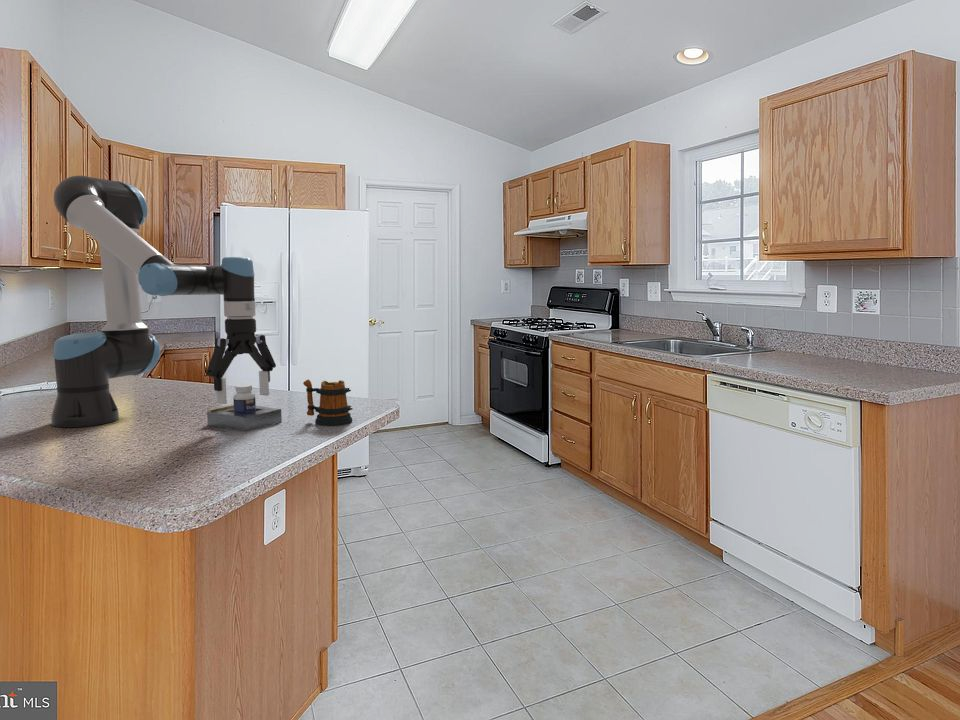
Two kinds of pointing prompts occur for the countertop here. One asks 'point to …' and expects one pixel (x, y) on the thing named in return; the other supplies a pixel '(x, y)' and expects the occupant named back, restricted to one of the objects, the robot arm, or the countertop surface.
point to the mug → (329, 403)
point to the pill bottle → (244, 399)
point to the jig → (243, 418)
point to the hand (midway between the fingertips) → (244, 399)
